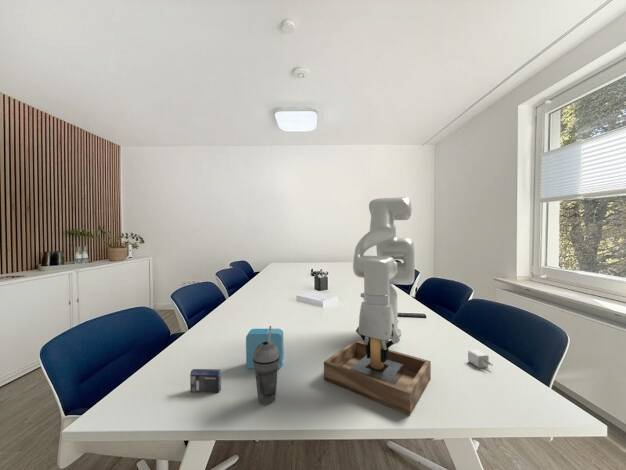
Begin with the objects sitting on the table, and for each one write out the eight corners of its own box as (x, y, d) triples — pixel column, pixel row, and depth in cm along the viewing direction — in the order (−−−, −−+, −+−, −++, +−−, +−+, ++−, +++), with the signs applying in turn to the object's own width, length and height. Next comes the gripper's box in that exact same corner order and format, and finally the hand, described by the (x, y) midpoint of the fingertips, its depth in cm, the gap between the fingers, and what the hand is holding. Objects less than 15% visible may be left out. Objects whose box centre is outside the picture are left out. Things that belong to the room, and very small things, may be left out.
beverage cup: (255, 392, 74) (254, 322, 74) (280, 390, 75) (280, 321, 75) (251, 409, 67) (250, 332, 67) (279, 407, 68) (278, 330, 67)
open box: (355, 355, 96) (355, 340, 96) (430, 378, 80) (430, 361, 80) (323, 379, 80) (323, 362, 80) (410, 415, 64) (409, 393, 64)
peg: (368, 366, 79) (367, 333, 79) (373, 361, 83) (373, 329, 82) (380, 370, 77) (380, 336, 77) (385, 365, 80) (385, 332, 80)
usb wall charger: (478, 360, 91) (478, 349, 91) (495, 371, 84) (495, 358, 84) (468, 361, 90) (468, 350, 90) (484, 372, 84) (484, 359, 84)
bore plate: (368, 362, 88) (367, 353, 88) (403, 374, 81) (403, 364, 81) (350, 378, 79) (350, 368, 79) (388, 393, 72) (388, 382, 72)
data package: (283, 362, 91) (283, 328, 91) (282, 369, 87) (281, 333, 87) (249, 362, 91) (249, 328, 91) (246, 369, 87) (245, 333, 87)
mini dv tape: (190, 392, 74) (190, 371, 74) (193, 389, 76) (192, 368, 76) (218, 393, 74) (218, 372, 74) (220, 389, 76) (220, 369, 76)
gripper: (346, 297, 82) (347, 355, 82) (399, 306, 72) (399, 372, 72) (358, 293, 88) (358, 347, 88) (408, 300, 78) (408, 362, 78)
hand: (377, 358), depth 80 cm, fingers closed on peg, 4 cm apart
